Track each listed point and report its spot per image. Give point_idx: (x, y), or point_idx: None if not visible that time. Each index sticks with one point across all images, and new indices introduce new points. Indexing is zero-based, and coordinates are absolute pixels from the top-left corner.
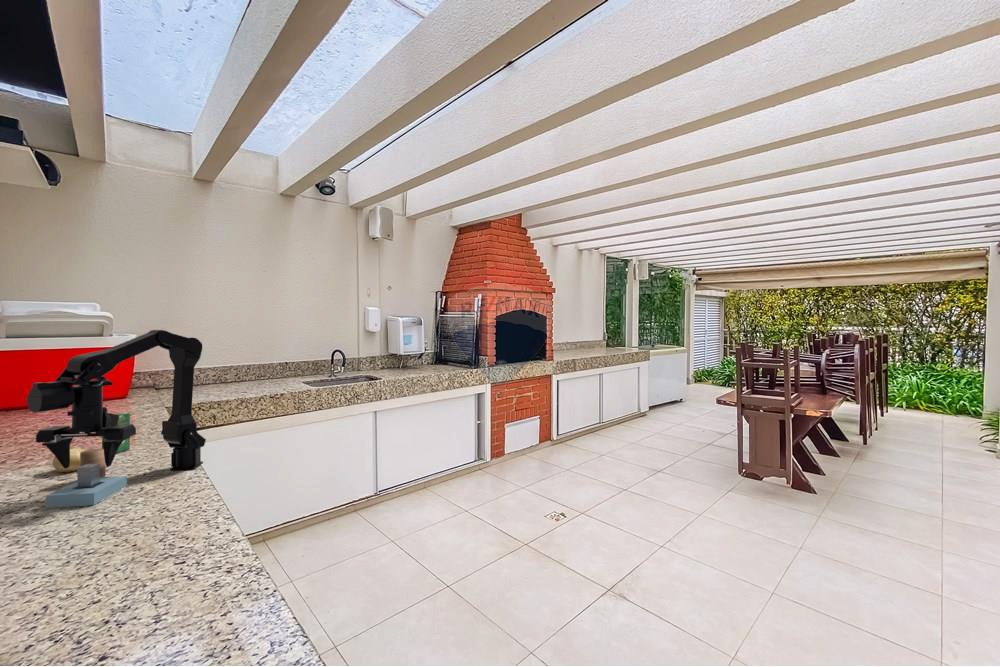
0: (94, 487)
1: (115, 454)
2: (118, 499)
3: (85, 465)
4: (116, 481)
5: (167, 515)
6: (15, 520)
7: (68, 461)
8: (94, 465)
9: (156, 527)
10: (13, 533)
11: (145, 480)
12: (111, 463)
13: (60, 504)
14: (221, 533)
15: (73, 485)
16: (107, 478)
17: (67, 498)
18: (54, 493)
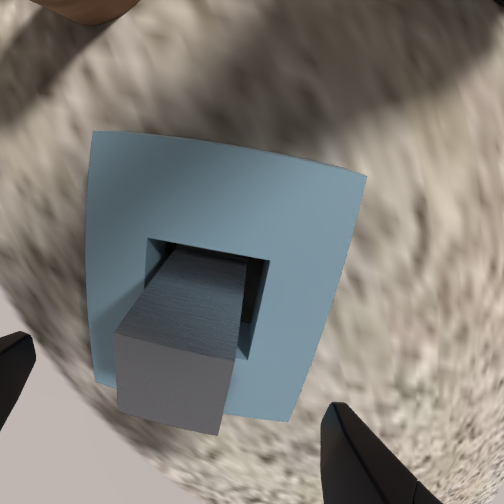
0: (253, 352)
1: (401, 466)
2: (356, 343)
3: (134, 374)
4: (337, 278)
5: (463, 453)
6: (106, 412)
7: (5, 364)
8: (215, 399)
9: (438, 485)
10: (172, 475)
11: (398, 70)
12: (352, 414)
13: None
14: (493, 485)
15: (113, 275)
16: (252, 184)
17: None
18: (110, 371)
